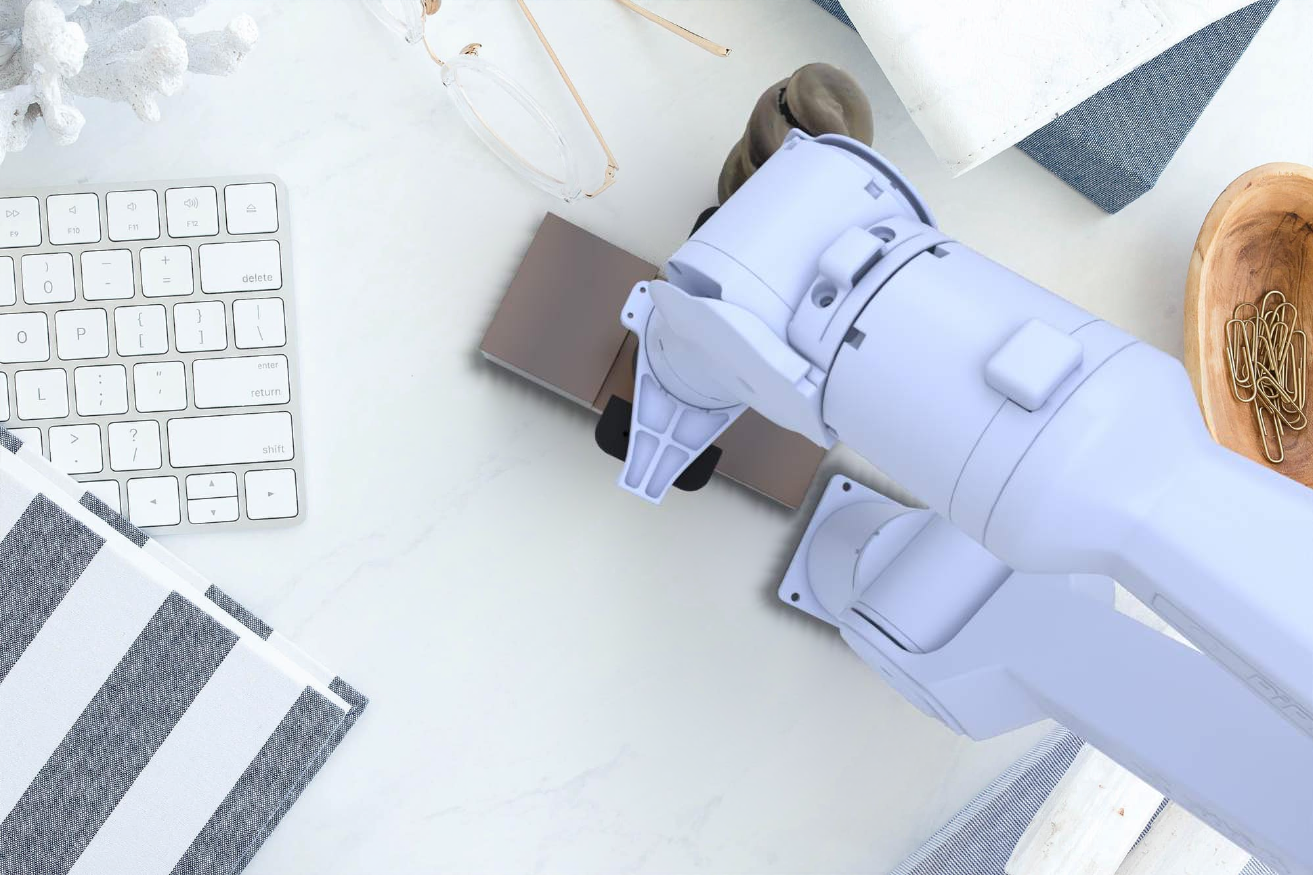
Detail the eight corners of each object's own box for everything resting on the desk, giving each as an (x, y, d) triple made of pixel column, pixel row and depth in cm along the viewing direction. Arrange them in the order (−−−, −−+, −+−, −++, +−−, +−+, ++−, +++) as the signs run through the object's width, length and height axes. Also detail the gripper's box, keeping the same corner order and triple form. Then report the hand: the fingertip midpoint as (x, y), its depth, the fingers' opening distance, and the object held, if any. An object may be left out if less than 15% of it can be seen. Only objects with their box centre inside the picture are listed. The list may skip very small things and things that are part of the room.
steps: (849, 385, 54) (876, 378, 49) (791, 508, 53) (813, 513, 49) (548, 232, 52) (547, 210, 47) (485, 358, 51) (478, 348, 47)
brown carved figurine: (738, 145, 53) (809, 23, 38) (813, 202, 54) (913, 103, 39) (682, 223, 53) (733, 130, 38) (759, 279, 53) (839, 209, 38)
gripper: (721, 106, 34) (674, 205, 48) (550, 453, 33) (552, 455, 47) (885, 193, 35) (793, 267, 49) (722, 536, 34) (674, 514, 48)
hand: (682, 363), depth 48 cm, fingers open, 7 cm apart
